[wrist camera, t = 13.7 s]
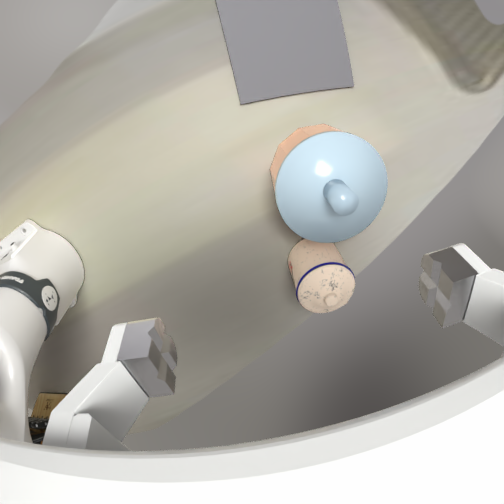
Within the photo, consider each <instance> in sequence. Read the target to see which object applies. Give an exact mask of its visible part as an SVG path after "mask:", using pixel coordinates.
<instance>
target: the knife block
mask: <svg viewBox="0 0 504 504" xmlns="http://www.w3.org/2000/svg"><path fill="white" fill-rule="evenodd" d="M66 396H67V395H66V394H46V393H39V395H38V398H37V401H36V403H35V406H34V409H33V412H32V415H31V417H28V422H29V430H30V435H31V439H32V442H33V444H40V445H42V443H43V439H44V436H45V432H46V428H47V425H48V422H49V418H50V415H51V412H52V411H53V409H54V408H55V407H56V406H57V405H58V404H59V403H60V402H61V401H62V400H63V399H64V398H65V397H66Z"/></svg>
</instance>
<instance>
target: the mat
mask: <svg viewBox="0 0 504 504" xmlns="http://www.w3.org/2000/svg"><path fill="white" fill-rule="evenodd" d="M216 4H217V8H218V12H219V16H220V20H221V24H222V28H223V32H224V36H225V40H226V44H227V48H228V52H229V56H230V61H231V65H232V69H233V73H234V77H235V81H236V86H237V90H238V94H239V98H240V103H241V104H245V103H250V102H254V101H259V100H264V99H270V98H275V97H280V96H286V95H292V94H298V93H305V92H312V91H319V90H326V89H334V88H343V87H353V86H354V82H353V76H352V70H351V64H350V59H349V53H348V48H347V43H346V38H345V33H344V28H343V23H342V19H341V14H340V10H339V6H338V2H337V0H216Z"/></svg>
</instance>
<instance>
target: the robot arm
mask: <svg viewBox="0 0 504 504" xmlns="http://www.w3.org/2000/svg"><path fill="white" fill-rule="evenodd" d="M25 229H26V230H25ZM421 267H422V268H423V269H424V271H423V273H422V274H421V276H420V277H419V291H420V295H421V297H422V300H423V301H424V303H425V304H426V305H427V306H429V307H432V308H433V316H434V317H435V318H436V320H437V321H438V323H439V324H440V326H441V327H442V328H445V327H447V326H450V325H453V324H455V323H458V322H461V321H463V320H464V321H463V322H464V323H466V324H468V325H469V326H471V327H473V328H474V329H476V330H478V331H479V332H481V333H482V334H484V335H486V336H487V337H489V338H491V339H493V340H494V341H495V342H497V343H499V344H500V345H502V346H504V272H503V271H500V270H497V269H490V268H489V267H488V266H487V265H486V264H485V263H484V262H483V261H482V260H481V259H480V258H478V256H477V255H475V253H473V252H472V251H471V250H470V249H469V248H468V247H467V246H466V245H465V244H463V243H459V244H456V245H453V246H450V247H448V248H444V249H441V250H438V251H434V252H431V253H428V254H425V255H423V257H422V260H421ZM83 281H84V268H83V264H82V261H81V259H80V257H79V255H78V253H77V251H76V250H75V249H74V247H73V246H72V245H71V244H70V243H69V242H68V241H67V240H66V239H64V238H63V237H62V236H60V235H58V234H56V233H54V232H52V231H49V230H46V229H43V228H41V227H40V226H39V225H38V224H36V223H35V222H34V221H32V220H30V219H28V220H26V221H24V222H23V223H22V224H20V225H19V226H18V227H17V228H15V229H14V230H13V231H12V232H11V233H9V234H8V235H7V236H6V237H4V238H3V239H2V240H1V241H0V504H504V351H503V354H502V356H501V357H500V359H498V360H496V361H494V362H492V363H491V364H489V365H487V366H485V367H483V368H481V369H479V370H477V371H475V372H473V373H471V374H469V375H467V376H465V377H463V378H461V379H459V380H456V381H454V382H452V383H450V384H448V385H445V386H443V387H441V388H439V389H436V390H434V391H432V392H429V393H427V394H424V395H422V396H419V397H417V398H414V399H412V400H409V401H406V402H404V403H401V404H398V405H395V406H392V407H390V408H387V409H384V410H381V411H378V412H375V413H372V414H369V415H365V416H362V417H359V418H356V419H352V420H348V421H345V422H341V423H338V424H334V425H330V426H326V427H322V428H318V429H315V430H310V431H306V432H301V433H297V434H292V435H288V436H282V437H277V438H271V439H266V440H260V441H254V442H247V443H241V444H233V445H225V446H216V447H207V448H195V449H182V450H163V451H131V450H130V449H129V448H127V447H126V446H125V445H124V444H123V443H121V442H122V440H123V439H124V437H125V436H126V434H127V433H128V431H129V430H130V428H131V427H132V425H133V424H134V422H135V420H136V419H137V417H138V416H139V414H140V413H141V411H142V410H143V408H144V407H145V405H146V404H147V402H148V400H149V398H150V397H158V396H165V395H173V394H174V391H175V379H176V376H175V375H174V373H173V372H172V370H173V369H174V368H175V367H176V366H177V352H176V347H175V344H174V342H173V340H172V338H171V336H169V335H167V334H166V333H164V331H165V325H164V323H163V322H162V320H161V318H158V317H156V318H150V319H144V320H137V321H131V322H126V323H119V324H115V325H114V326H113V327H112V329H111V332H110V335H109V339H108V342H107V345H106V348H105V351H104V355H103V358H102V362H101V363H99V364H96V365H95V366H94V367H93V368H92V369H91V371H90V372H89V373H88V374H87V375H86V376H85V377H84V378H83V379H82V380H81V381H80V382H79V383H78V384H77V385H76V386H75V387H74V388H73V389H72V390H71V391H70V392H69V394H68V395H67V396H66V397H65V398H64V399H63V400H62V401H61V402H60V403H59V404H58V405H57V406H56V407H55V408H54V409H53V411H52V412H51V415H50V418H49V422H48V425H47V428H46V432H45V436H44V439H43V443H42V445H40V444H33V442H32V439H31V435H30V430H29V422H28V390H29V382H30V376H31V372H32V369H33V366H34V364H35V361H36V358H37V356H38V353H39V351H40V349H41V346H42V344H43V342H44V341H45V340H46V339H47V338H48V337H49V335H50V334H51V332H52V331H53V329H54V325H55V326H56V325H58V323H59V322H60V320H61V319H62V317H63V316H64V314H65V313H66V311H67V309H68V308H69V307H74V305H75V304H76V302H77V293H78V291H79V289H80V288H81V286H82V284H83Z"/></svg>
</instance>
